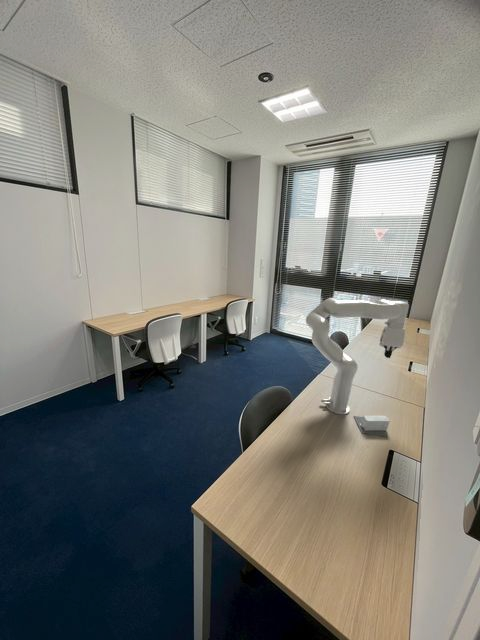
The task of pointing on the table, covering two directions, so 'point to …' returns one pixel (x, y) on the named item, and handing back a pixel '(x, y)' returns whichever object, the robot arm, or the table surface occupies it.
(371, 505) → the table surface
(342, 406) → the robot arm
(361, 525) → the table surface
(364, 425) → the skincare box
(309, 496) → the table surface
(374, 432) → the mat
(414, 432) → the table surface
